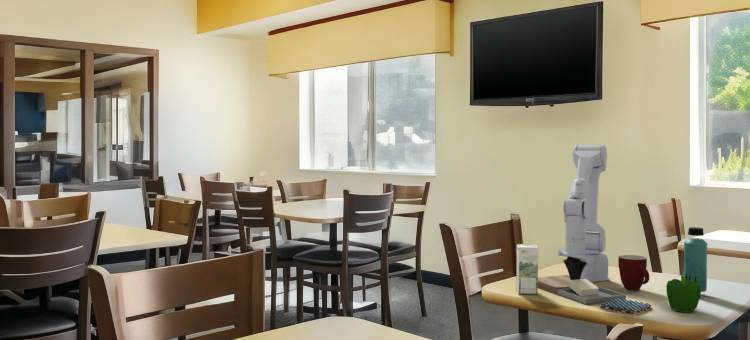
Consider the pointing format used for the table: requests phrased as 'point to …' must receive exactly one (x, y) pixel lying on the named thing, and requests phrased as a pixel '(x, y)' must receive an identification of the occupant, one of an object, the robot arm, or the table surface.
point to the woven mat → (625, 306)
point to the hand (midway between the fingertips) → (575, 282)
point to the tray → (591, 296)
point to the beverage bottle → (695, 258)
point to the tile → (583, 287)
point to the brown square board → (554, 283)
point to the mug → (633, 271)
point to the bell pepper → (683, 294)
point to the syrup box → (527, 269)
